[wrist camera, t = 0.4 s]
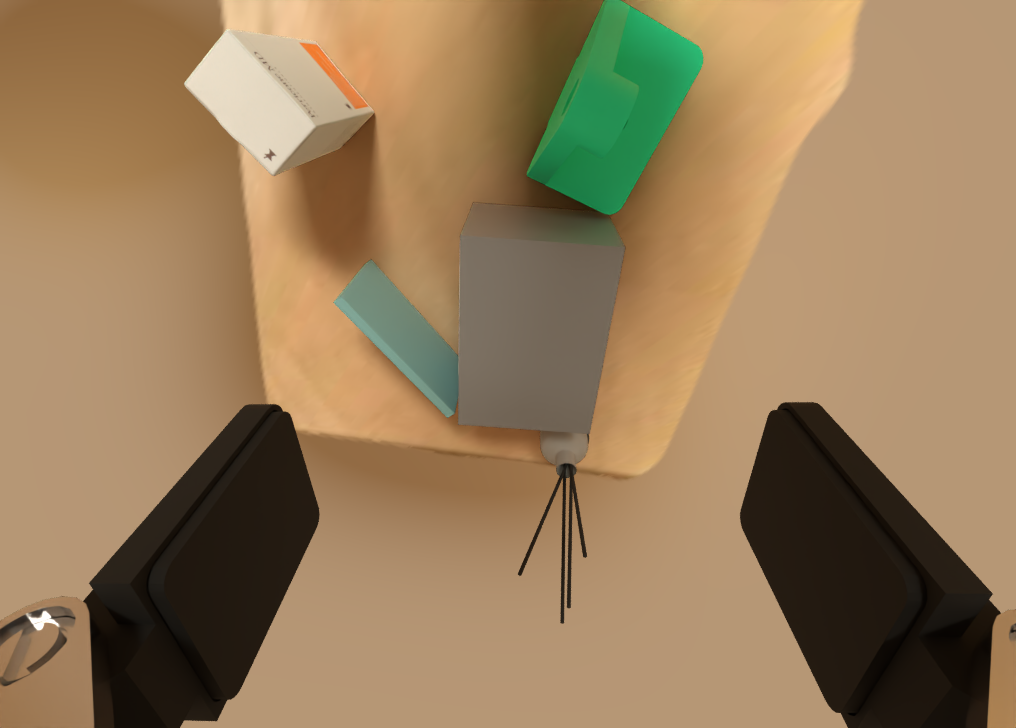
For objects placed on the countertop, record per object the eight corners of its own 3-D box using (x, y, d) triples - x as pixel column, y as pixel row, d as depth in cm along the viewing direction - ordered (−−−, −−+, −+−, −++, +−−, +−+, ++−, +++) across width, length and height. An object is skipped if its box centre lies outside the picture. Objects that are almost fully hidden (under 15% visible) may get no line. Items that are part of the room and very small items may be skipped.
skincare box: (377, 111, 37) (320, 129, 27) (340, 149, 38) (272, 180, 28) (314, 36, 35) (225, 24, 24) (277, 80, 36) (178, 86, 26)
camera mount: (610, 210, 40) (633, 251, 32) (526, 169, 39) (526, 200, 30) (698, 53, 34) (756, 50, 26) (603, -2, 33) (630, -26, 24)
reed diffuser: (576, 454, 54) (598, 635, 37) (514, 446, 54) (507, 624, 37) (598, 378, 49) (635, 547, 32) (529, 368, 48) (530, 534, 31)
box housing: (470, 202, 40) (457, 235, 33) (607, 212, 40) (625, 247, 33) (467, 367, 49) (455, 424, 41) (580, 375, 49) (589, 434, 41)
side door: (465, 363, 48) (454, 413, 41) (459, 367, 48) (447, 417, 41) (371, 259, 43) (340, 296, 36) (364, 264, 43) (333, 302, 36)
